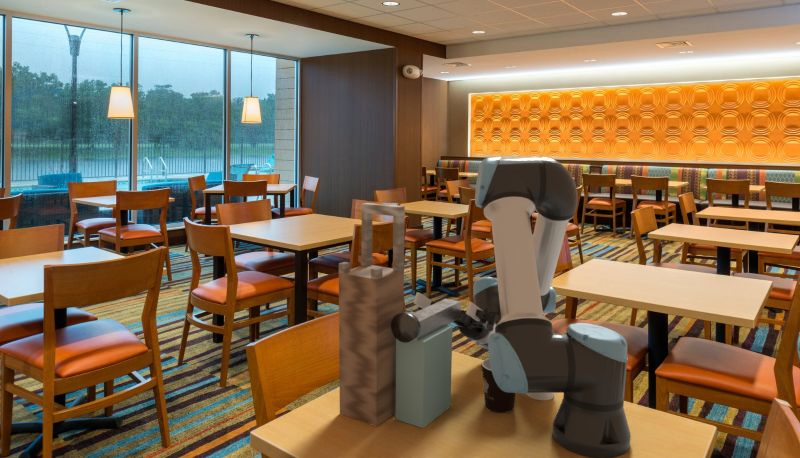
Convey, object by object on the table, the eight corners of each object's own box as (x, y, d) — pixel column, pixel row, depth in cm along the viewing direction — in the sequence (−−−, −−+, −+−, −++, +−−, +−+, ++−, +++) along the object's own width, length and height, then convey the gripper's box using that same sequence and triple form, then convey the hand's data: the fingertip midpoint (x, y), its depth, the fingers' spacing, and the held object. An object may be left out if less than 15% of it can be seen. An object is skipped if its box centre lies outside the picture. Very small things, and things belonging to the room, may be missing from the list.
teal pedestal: (450, 406, 135) (452, 326, 132) (422, 428, 125) (424, 342, 122) (424, 398, 139) (425, 320, 135) (395, 418, 129) (396, 335, 126)
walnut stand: (402, 408, 134) (404, 206, 126) (376, 426, 125) (377, 211, 118) (366, 397, 139) (367, 202, 132) (339, 413, 131) (338, 207, 123)
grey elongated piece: (464, 318, 137) (465, 293, 136) (415, 345, 120) (415, 316, 119) (441, 314, 141) (442, 289, 140) (390, 339, 123) (390, 311, 122)
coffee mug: (518, 416, 130) (520, 373, 129) (479, 412, 132) (480, 370, 130) (518, 394, 141) (520, 354, 140) (482, 390, 143) (483, 351, 141)
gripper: (519, 350, 143) (488, 329, 126) (430, 331, 156) (391, 309, 140) (526, 321, 145) (496, 295, 128) (438, 303, 158) (400, 279, 142)
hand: (441, 302), depth 134 cm, fingers open, 13 cm apart
